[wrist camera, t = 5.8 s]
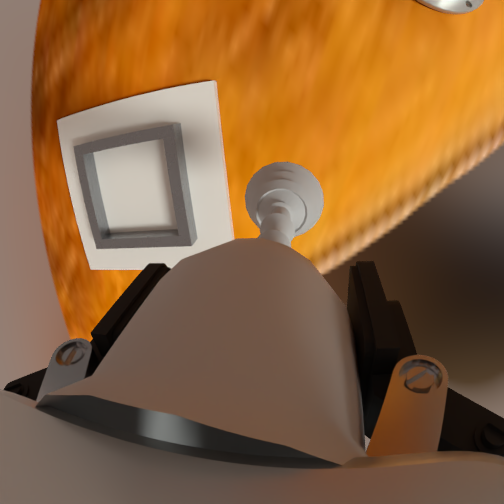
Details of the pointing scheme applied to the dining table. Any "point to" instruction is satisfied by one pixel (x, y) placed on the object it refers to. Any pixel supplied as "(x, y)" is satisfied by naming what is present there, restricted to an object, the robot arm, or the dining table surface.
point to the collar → (178, 185)
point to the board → (151, 173)
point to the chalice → (238, 345)
